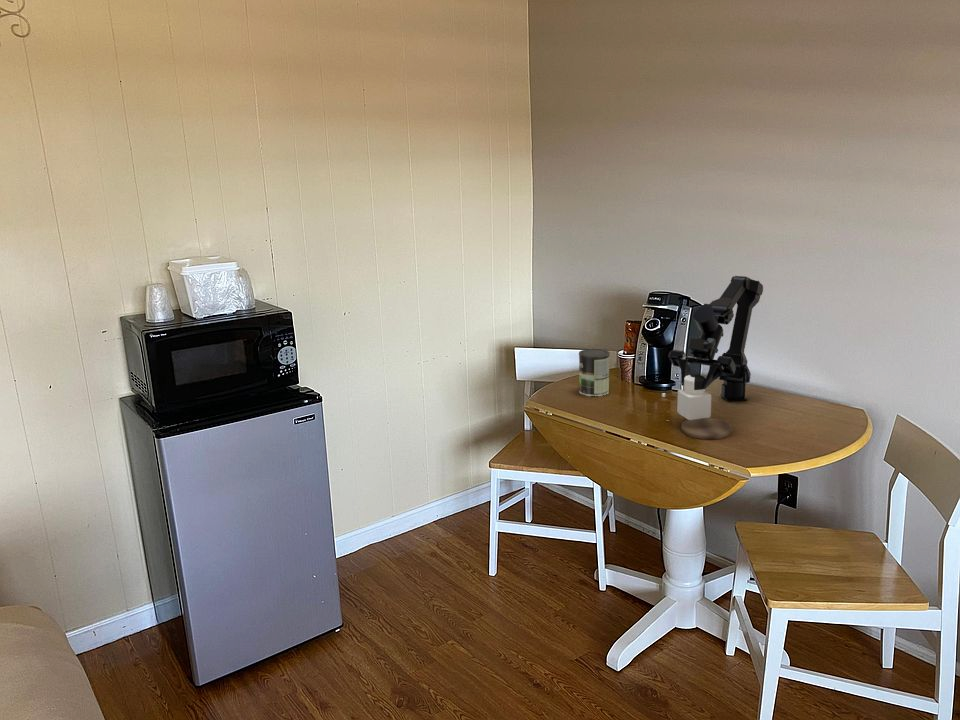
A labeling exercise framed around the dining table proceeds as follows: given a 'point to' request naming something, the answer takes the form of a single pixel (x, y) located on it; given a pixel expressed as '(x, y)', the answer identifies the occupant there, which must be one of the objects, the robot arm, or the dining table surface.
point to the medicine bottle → (694, 398)
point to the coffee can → (594, 372)
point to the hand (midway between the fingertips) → (692, 386)
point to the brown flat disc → (706, 428)
